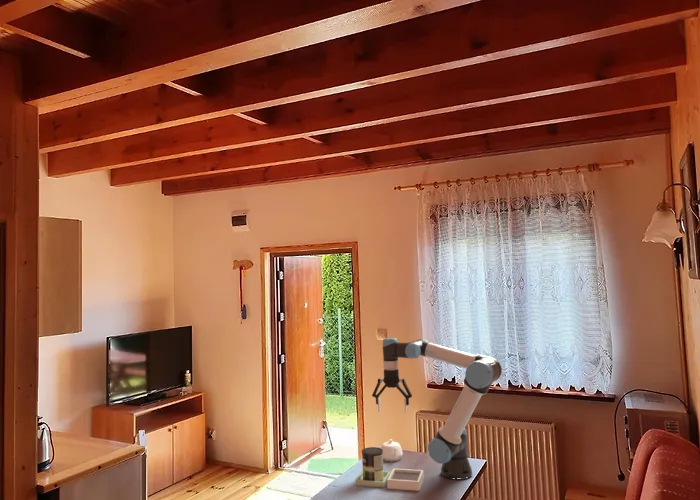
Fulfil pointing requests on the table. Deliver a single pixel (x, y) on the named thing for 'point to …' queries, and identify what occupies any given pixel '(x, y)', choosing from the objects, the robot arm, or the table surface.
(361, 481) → the tray
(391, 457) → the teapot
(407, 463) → the table surface
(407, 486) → the checker cradle
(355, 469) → the table surface
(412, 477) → the plate
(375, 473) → the coffee can
